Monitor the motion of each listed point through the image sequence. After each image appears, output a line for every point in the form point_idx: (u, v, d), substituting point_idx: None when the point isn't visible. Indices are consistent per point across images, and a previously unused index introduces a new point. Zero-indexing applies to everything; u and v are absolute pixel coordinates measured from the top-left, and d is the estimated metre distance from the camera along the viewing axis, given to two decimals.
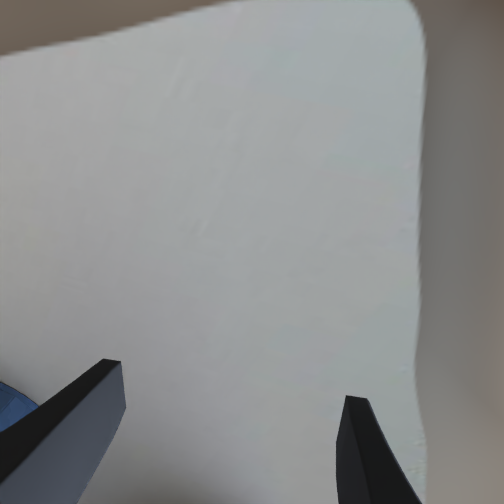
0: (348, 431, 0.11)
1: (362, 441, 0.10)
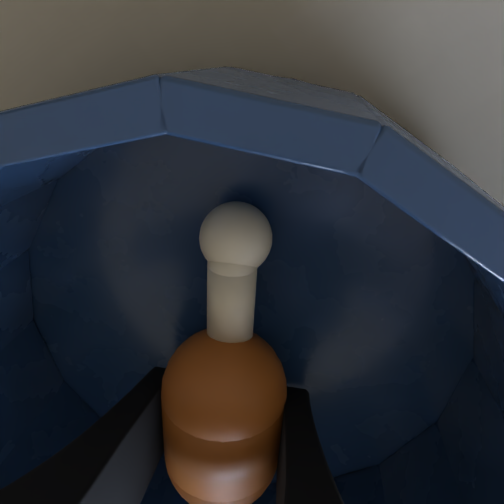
0: (283, 421, 0.11)
1: (291, 430, 0.10)
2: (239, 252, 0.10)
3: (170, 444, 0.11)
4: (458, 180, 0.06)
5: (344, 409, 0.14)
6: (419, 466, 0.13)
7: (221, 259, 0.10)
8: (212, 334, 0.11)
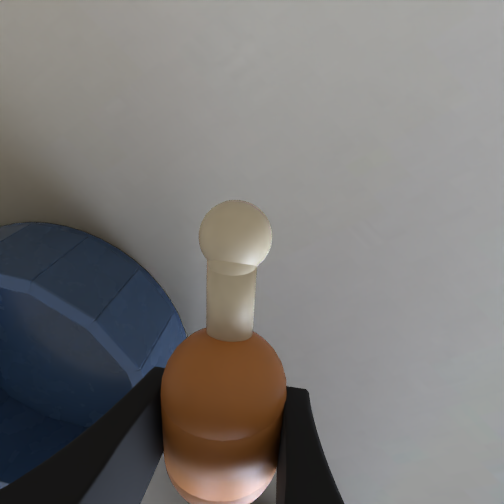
0: (283, 421, 0.11)
1: (291, 429, 0.10)
2: (239, 251, 0.10)
3: (169, 443, 0.11)
4: (57, 297, 0.17)
5: (125, 382, 0.26)
6: None
7: (220, 257, 0.10)
8: (211, 333, 0.11)
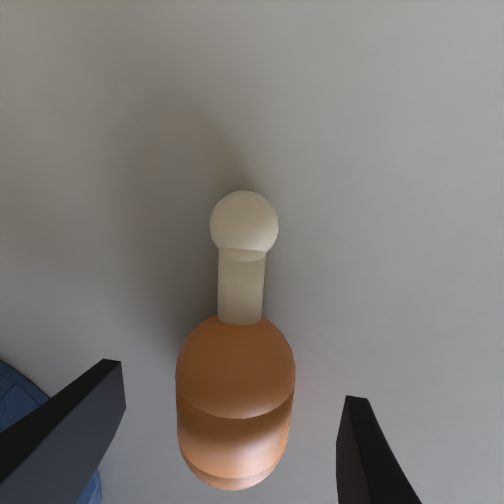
0: (348, 431, 0.11)
1: (362, 441, 0.10)
2: (252, 238, 0.10)
3: (188, 427, 0.12)
4: None
5: None
6: None
7: (234, 245, 0.11)
8: (224, 319, 0.12)
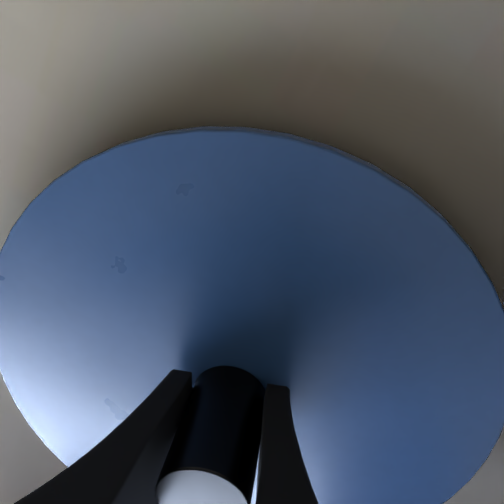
0: (262, 417, 0.11)
1: (268, 426, 0.10)
2: None
3: None
4: None
5: None
6: None
7: None
8: None
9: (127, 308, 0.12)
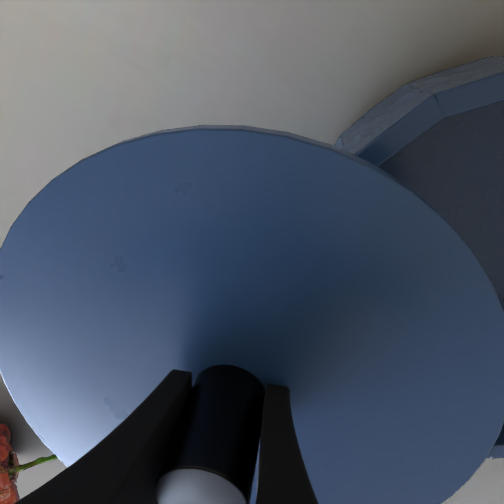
0: (262, 417, 0.11)
1: (269, 426, 0.10)
2: None
3: None
4: None
5: None
6: None
7: None
8: None
9: (126, 307, 0.12)
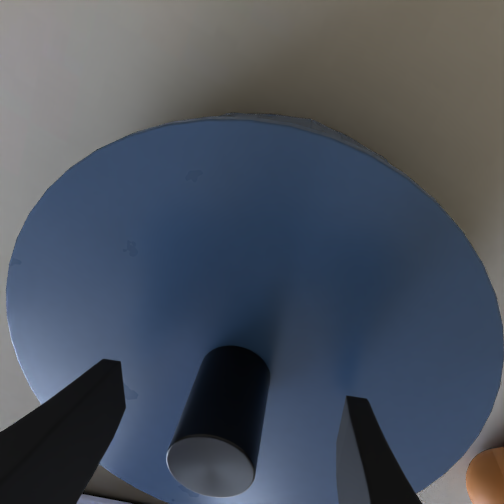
0: (348, 431, 0.11)
1: (362, 441, 0.10)
2: None
3: None
4: None
5: None
6: None
7: None
8: None
9: (138, 290, 0.13)
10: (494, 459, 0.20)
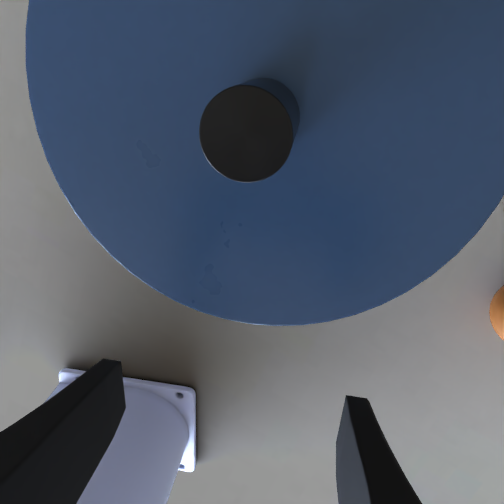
0: (348, 431, 0.11)
1: (362, 441, 0.10)
2: None
3: None
4: None
5: None
6: None
7: None
8: None
9: (164, 14, 0.13)
10: None
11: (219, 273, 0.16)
